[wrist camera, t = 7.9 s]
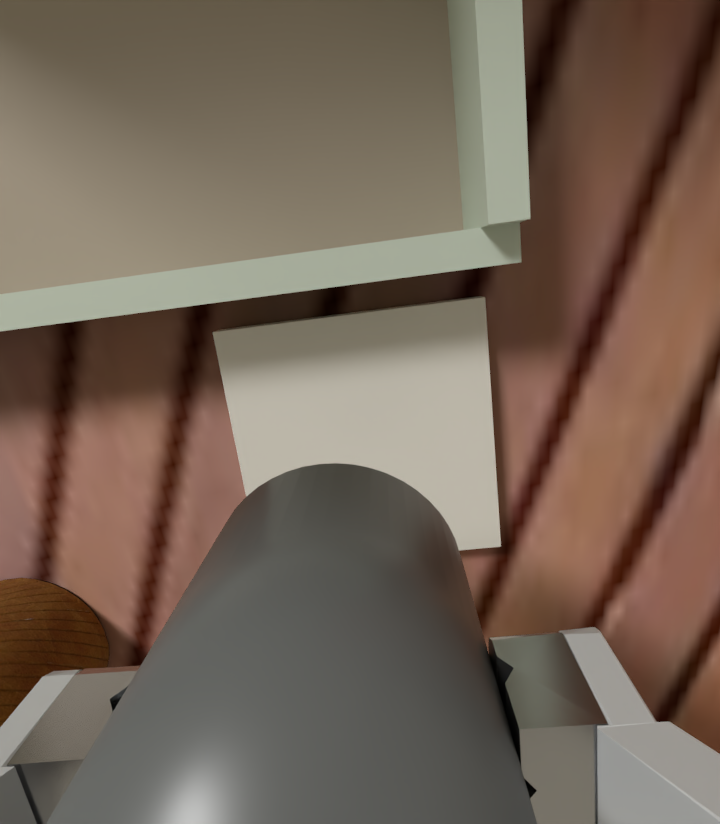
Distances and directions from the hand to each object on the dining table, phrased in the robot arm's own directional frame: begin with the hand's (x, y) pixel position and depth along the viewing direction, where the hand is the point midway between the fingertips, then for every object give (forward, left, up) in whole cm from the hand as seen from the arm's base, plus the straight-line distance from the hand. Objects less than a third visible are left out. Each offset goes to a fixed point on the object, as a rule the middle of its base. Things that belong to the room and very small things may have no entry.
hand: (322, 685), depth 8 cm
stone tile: (0, 0, -12) cm, 12 cm away
